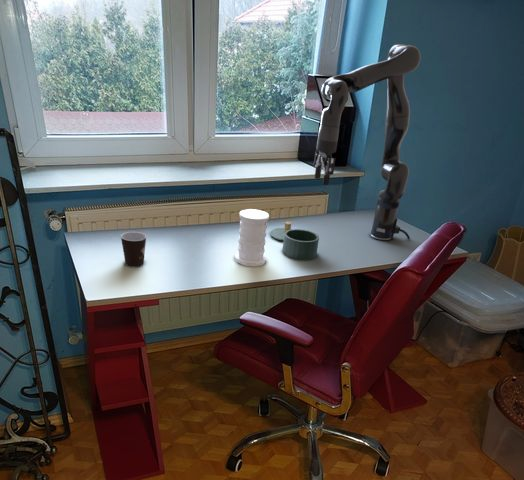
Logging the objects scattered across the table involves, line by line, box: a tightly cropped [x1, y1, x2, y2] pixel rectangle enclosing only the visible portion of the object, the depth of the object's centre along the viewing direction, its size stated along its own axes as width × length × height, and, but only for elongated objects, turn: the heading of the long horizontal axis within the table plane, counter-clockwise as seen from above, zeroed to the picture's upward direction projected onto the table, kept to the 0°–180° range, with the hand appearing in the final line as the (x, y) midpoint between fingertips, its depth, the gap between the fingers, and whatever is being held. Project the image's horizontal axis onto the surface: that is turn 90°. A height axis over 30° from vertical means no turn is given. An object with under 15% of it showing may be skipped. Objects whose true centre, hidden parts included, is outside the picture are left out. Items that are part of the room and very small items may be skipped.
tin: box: [282, 228, 320, 261], centre depth 211 cm, size 14×14×8 cm
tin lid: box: [269, 221, 293, 242], centre depth 225 cm, size 15×15×6 cm
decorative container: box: [234, 208, 270, 267], centre depth 197 cm, size 12×12×18 cm
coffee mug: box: [120, 231, 147, 268], centre depth 189 cm, size 12×9×10 cm
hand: (321, 181), depth 208 cm, fingers open, 8 cm apart
